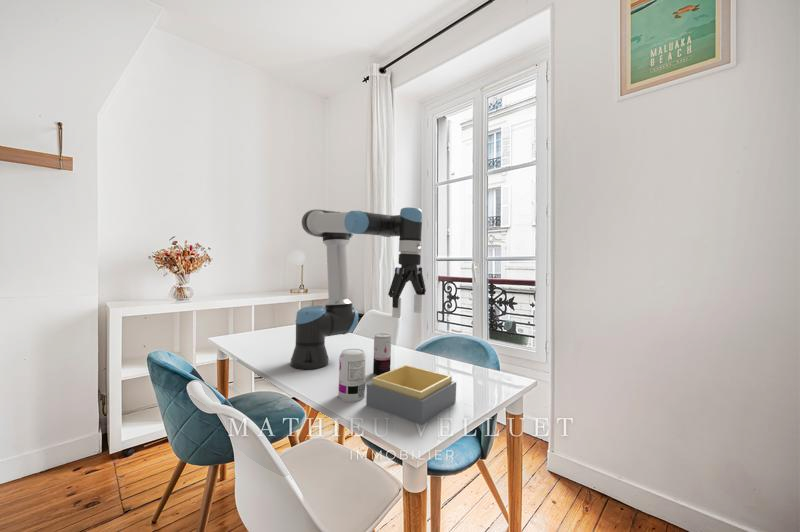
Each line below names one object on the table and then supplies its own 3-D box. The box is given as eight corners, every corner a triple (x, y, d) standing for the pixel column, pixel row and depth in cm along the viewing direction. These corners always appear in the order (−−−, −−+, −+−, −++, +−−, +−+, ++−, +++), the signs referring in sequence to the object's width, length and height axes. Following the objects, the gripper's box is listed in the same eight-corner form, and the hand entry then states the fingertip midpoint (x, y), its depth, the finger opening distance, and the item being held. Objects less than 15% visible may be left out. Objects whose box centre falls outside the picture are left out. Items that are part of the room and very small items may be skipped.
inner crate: (371, 404, 106) (372, 378, 106) (404, 388, 120) (405, 364, 120) (420, 421, 96) (421, 392, 96) (450, 401, 110) (451, 376, 110)
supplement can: (334, 402, 109) (335, 353, 109) (344, 392, 117) (345, 347, 117) (359, 405, 107) (360, 356, 107) (368, 395, 115) (369, 349, 115)
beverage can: (389, 371, 141) (390, 333, 140) (390, 376, 134) (392, 337, 134) (372, 371, 140) (373, 333, 139) (373, 376, 133) (374, 337, 133)
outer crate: (366, 407, 106) (366, 384, 106) (404, 388, 122) (404, 368, 122) (421, 427, 94) (422, 401, 94) (455, 404, 110) (456, 381, 110)
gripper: (398, 252, 109) (395, 321, 110) (436, 254, 130) (434, 312, 131) (379, 252, 113) (376, 318, 114) (418, 253, 134) (416, 309, 135)
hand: (407, 315), depth 122 cm, fingers open, 13 cm apart
